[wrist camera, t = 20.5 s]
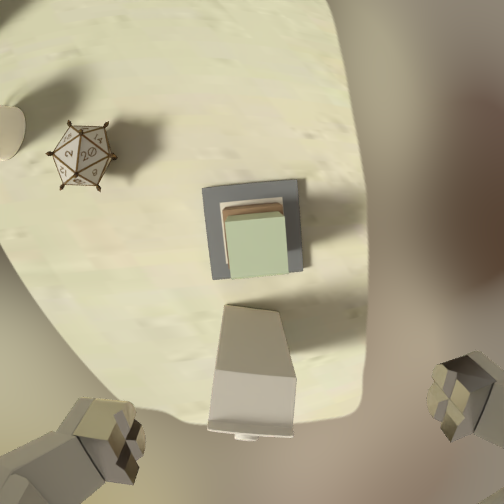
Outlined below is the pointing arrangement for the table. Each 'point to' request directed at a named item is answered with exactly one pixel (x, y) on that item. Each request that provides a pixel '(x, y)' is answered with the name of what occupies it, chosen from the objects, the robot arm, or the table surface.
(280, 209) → the walnut block
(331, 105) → the table surface
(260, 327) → the milk carton
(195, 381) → the table surface
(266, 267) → the sage cube
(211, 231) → the board
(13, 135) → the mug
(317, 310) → the table surface
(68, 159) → the game die
